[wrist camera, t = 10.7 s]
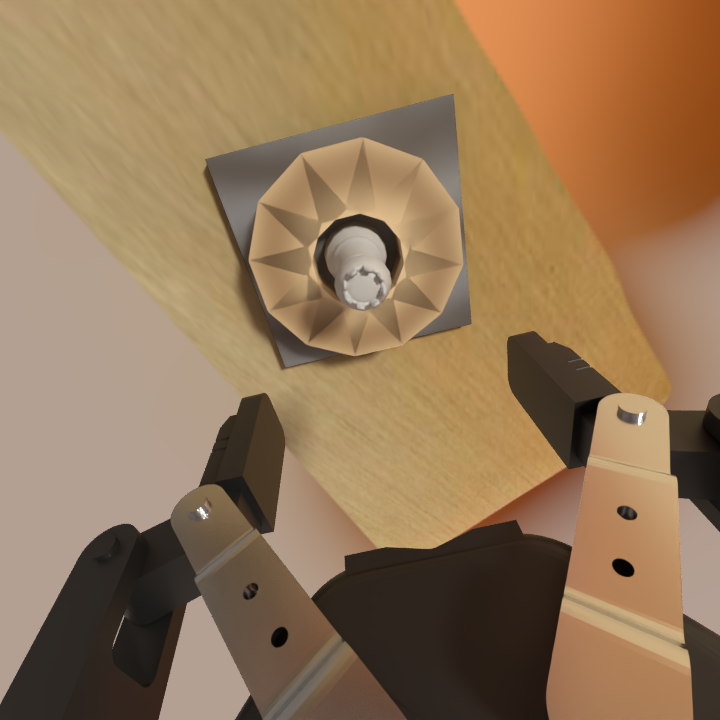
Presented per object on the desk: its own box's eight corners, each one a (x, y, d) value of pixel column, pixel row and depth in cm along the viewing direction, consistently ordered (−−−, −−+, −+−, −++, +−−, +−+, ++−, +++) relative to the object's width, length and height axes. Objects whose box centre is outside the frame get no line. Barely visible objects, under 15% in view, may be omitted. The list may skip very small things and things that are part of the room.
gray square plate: (209, 158, 25) (192, 161, 22) (449, 95, 24) (466, 88, 21) (286, 361, 33) (282, 384, 30) (467, 319, 32) (482, 338, 29)
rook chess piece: (371, 289, 29) (385, 336, 22) (316, 270, 28) (312, 312, 21) (395, 233, 27) (418, 265, 20) (336, 210, 26) (339, 235, 19)
